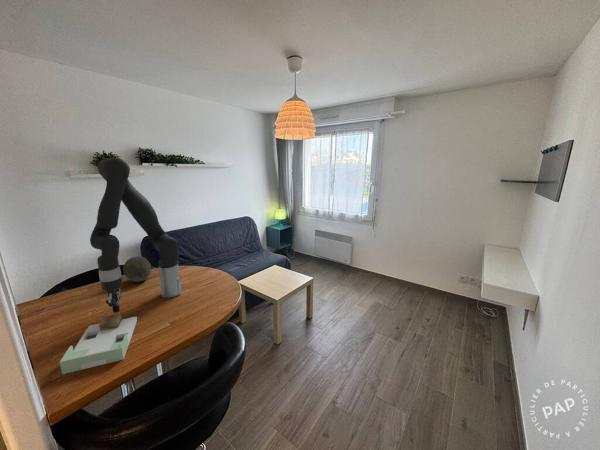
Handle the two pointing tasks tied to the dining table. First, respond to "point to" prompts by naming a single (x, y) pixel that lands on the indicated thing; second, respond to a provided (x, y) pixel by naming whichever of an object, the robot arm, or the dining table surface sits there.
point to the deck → (99, 347)
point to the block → (110, 322)
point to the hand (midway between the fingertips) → (116, 311)
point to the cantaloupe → (137, 269)
